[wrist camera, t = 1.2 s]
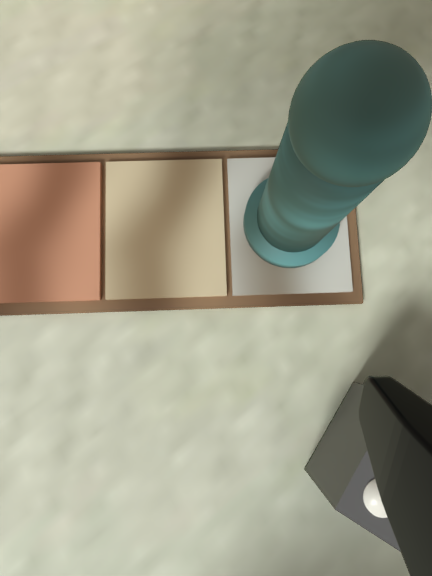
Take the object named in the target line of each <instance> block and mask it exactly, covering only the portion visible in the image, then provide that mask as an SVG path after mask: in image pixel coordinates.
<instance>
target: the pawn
mask: <svg viewBox="0 0 432 576" xmlns="http://www.w3.org/2000/svg"><path fill="white" fill-rule="evenodd" d="M431 113H432V96H431V90H430V86H429V82H428V79H427V77H426V75H425V73H424V71H423V69H422V68H421V66H420V65H419V64H418V62H417V61H416V60H415V59H414V58H413V57H412V56H411V55H410V54H409V53H407V52H406V51H405V50H403V49H402V48H400V47H398V46H396V45H393V44H390V43H387V42H383V41H375V40H362V41H355V42H352V43H348V44H344V45H342V46H339V47H337V48H335V49H334V50H332V51H330V52H328V53H327V54H325V55H324V56H322V57H321V58H320V59H319V60H318V61H317V62H315V63H314V64H313V65H312V66H311V67H310V68H309V70H308V71H307V72H306V74H305V75H304V76H303V78H302V79H301V81H300V83H299V84H298V86H297V88H296V90H295V93H294V95H293V98H292V101H291V105H290V110H289V118H288V123H287V126H286V129H285V131H284V134H283V137H282V140H281V143H280V146H279V149H278V152H277V155H276V157H275V160H274V163H273V166H272V169H271V172H270V175H269V178H267V179H266V180H264V181H263V182H261V183H260V184H259V185H258V186H257V187H256V188H255V189H254V191H253V192H252V194H251V195H250V197H249V199H248V202H247V205H246V209H245V213H244V219H243V228H244V233H245V236H246V239H247V241H248V243H249V245H250V247H251V248H252V250H253V251H254V252H255V253H256V254H257V255H258V256H259V257H260V258H261V259H263V260H264V261H266V262H268V263H270V264H272V265H274V266H278V267H282V268H298V267H302V266H306V265H308V264H310V263H312V262H314V261H315V260H317V259H318V258H319V257H321V256H322V255H323V254H324V253H325V252H327V251H328V249H329V248H330V247H331V246H332V244H333V243H334V241H335V239H336V237H337V235H338V232H339V227H340V222H341V221H342V220H343V219H344V218H345V217H346V216H347V215H348V214H349V213H350V212H351V211H352V210H353V209H354V208H355V207H356V206H357V205H358V204H359V203H361V202H362V201H363V200H364V199H365V198H366V197H367V196H368V195H369V194H370V193H371V192H372V191H373V190H374V189H375V188H376V187H377V186H378V185H379V184H380V183H382V182H383V181H384V180H385V179H386V178H388V177H390V176H391V175H393V174H394V173H396V172H397V171H398V170H400V169H401V168H402V167H403V166H405V165H406V163H407V162H408V161H409V160H410V159H411V158H412V157H413V156H414V155H415V153H416V152H417V150H418V149H419V147H420V145H421V144H422V142H423V140H424V138H425V136H426V133H427V130H428V127H429V124H430V120H431Z"/></svg>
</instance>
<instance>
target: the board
mask: <svg viewBox="0 0 432 576" xmlns="http://www.w3.org/2000/svg"><path fill="white" fill-rule="evenodd" d="M277 152H278V149H276V150H237V151H198V152H158V153H119V154H80V155H41V156H2V157H0V316H2V315H32V314H63V313H93V312H123V311H154V310H184V309H214V308H245V307H275V306H306V305H336V304H362V303H363V294H362V282H361V270H360V258H359V247H358V235H357V223H356V211H355V208H354V209H353V210H352V211H351V212H350V213H349V214H348V215H347V216H346V217H345V218H344V219H343V220H342V221H341V222H340V227H339V232H338V235H337V237H336V239H335V241H334V243H333V244H332V246H331V247H330V248H329V249H328V251H327V252H325V253H324V254H323V255H322V256H321V257H319V258H318V259H317V260H315V261H314V262H312V263H310V264H308V265H306V266H302V267H298V268H282V267H278V266H274V265H272V264H270V263H268V262H266V261H264V260H263V259H261V258H260V257H259V256H258V255H257V254H256V253H255V252H254V251H253V250H252V248H251V247H250V245H249V243H248V241H247V239H246V236H245V233H244V228H243V219H244V213H245V209H246V205H247V202H248V199H249V197H250V195H251V194H252V192H253V191H254V189H255V188H256V187H257V186H258V185H259V184H260V183H261V182H263V181H264V180H266V179H267V178H269V175H270V172H271V169H272V166H273V163H274V160H275V157H276V155H277Z"/></svg>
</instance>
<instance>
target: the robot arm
mask: <svg viewBox="0 0 432 576" xmlns="http://www.w3.org/2000/svg"><path fill="white" fill-rule="evenodd" d="M358 414H359V422H360V426H361V429H362V433H363V437H364V440H365V444H366V447H367V451H368V455H369V458H370V462H371V466H372V469H373V473H374V477H375V480H376V484H377V488H378V491H379V494H380V498H381V501H382V504H383V506H384V509H385V512H386V515H387V517H388V520H389V522H390V525H391V528H392V530H393V533H394V535H395V538H396V540H397V543H398V545H399V548H400V551H401V553H402V556H403V558H404V561H405V563H406V566H407V568H408V571H409V574H410V576H432V405H431V404H429V403H428V402H427V401H425V400H424V399H422V398H421V397H419V396H418V395H416V394H415V393H414V392H412V391H411V390H409V389H408V388H406V387H405V386H403V385H402V384H400V383H399V382H398V381H396V380H395V379H393V378H391V377H389V376H369V377H367V378H366V380H365V382H364V386H363V390H362V395H361V400H360V405H359V412H358Z"/></svg>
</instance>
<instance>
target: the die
mask: <svg viewBox="0 0 432 576" xmlns="http://www.w3.org/2000/svg"><path fill="white" fill-rule="evenodd" d="M363 386H364V385H362V384H358V383H355V382H353V384H352V385H351V387H350V389H349V391H348V393H347V394H346V396H345V398H344V400H343V401H342V403H341V405H340V407H339V409H338V410H337V412H336V414H335V416H334V417H333V419H332V421H331V423H330V425H329V426H328V428H327V430H326V432H325V433H324V435H323V437H322V439H321V441H320V442H319V444H318V446H317V448H316V449H315V451H314V453H313V455H312V457H311V458H310V460H309V462H308V464H307V465H306V467H305V471H306V472H307V473H308V475H309V476H310V477H311V479H312V480H313V481H314V482H315V484H316V485H317V486H318V488H319V489H320V490H321V492H322V493H323V494H324V496H325V497H326V498H327V500H328V501H329V502H330V503H331V505H332V506H333V507H334V509H335V510H337V511H338V512H340V513H342V514H343V515H345V516H346V517H348V518H349V519H351V520H352V521H354V522H355V523H357V524H359V525H360V526H362V527H363V528H365V529H366V530H368V531H369V532H371V533H372V534H374V535H376V536H377V537H379V538H380V539H382V540H383V541H385V542H386V543H388V544H389V545H391V546H393V547H394V548H396V549H397V550H399V551H400V548H399V545H398V543H397V540H396V538H395V535H394V533H393V530H392V528H391V525H390V522H389V520H388V517H387V515H386V512H385V509H384V506H383V504H382V501H381V498H380V494H379V491H378V488H377V484H376V480H375V477H374V473H373V469H372V466H371V462H370V458H369V455H368V451H367V447H366V444H365V440H364V437H363V433H362V429H361V426H360V422H359V414H358V412H359V405H360V400H361V395H362V390H363ZM400 552H401V551H400Z"/></svg>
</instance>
